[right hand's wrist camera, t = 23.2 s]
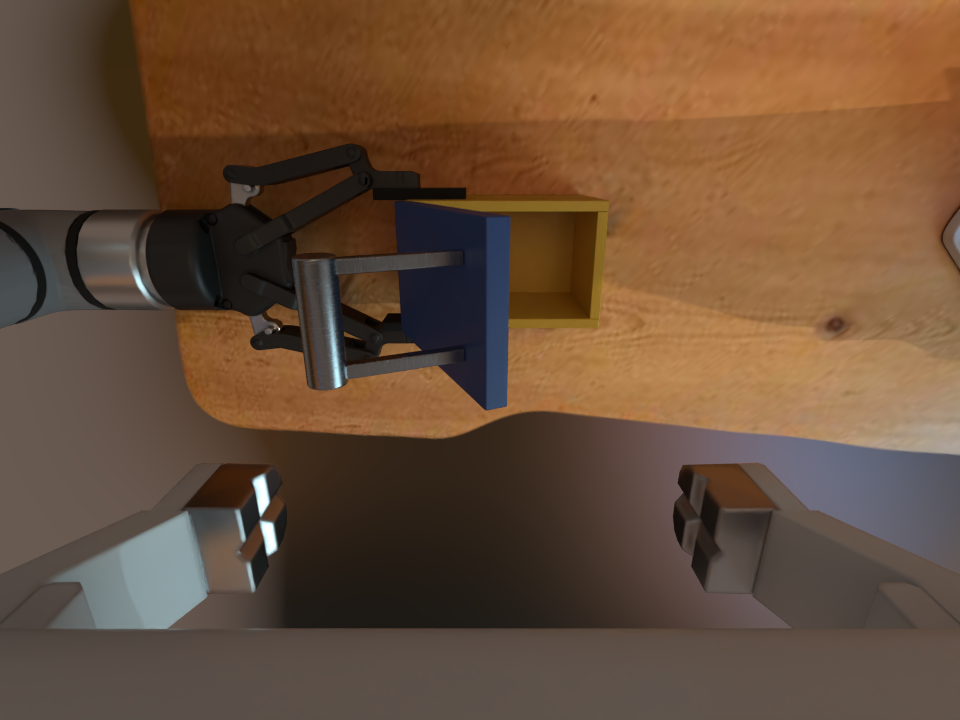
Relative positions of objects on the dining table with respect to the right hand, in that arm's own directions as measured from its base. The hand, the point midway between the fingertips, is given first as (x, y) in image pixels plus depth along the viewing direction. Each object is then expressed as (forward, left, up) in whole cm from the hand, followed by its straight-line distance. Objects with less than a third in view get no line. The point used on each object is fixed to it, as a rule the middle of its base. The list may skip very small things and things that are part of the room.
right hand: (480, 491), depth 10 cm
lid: (+1, +1, -20) cm, 20 cm away
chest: (-1, -2, -37) cm, 37 cm away
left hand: (0, +1, -30) cm, 30 cm away
